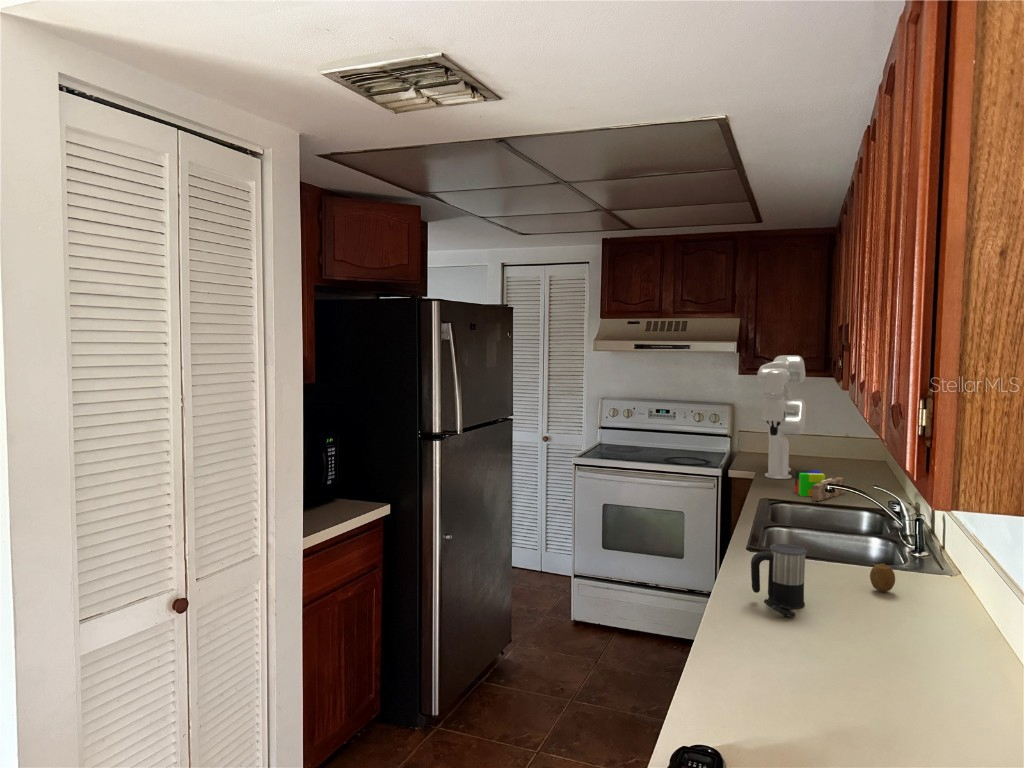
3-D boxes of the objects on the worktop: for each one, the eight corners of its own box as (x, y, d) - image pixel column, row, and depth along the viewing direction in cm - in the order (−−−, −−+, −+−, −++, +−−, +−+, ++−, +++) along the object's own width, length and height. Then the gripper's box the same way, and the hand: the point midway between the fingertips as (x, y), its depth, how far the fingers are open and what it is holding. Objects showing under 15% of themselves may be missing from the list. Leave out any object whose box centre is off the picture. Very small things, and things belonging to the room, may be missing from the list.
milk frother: (794, 596, 194) (795, 542, 193) (827, 618, 178) (828, 560, 177) (744, 598, 192) (745, 544, 191) (773, 621, 177) (774, 563, 176)
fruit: (880, 596, 193) (881, 567, 193) (864, 588, 199) (865, 560, 199) (900, 594, 195) (901, 566, 194) (883, 587, 201) (884, 559, 200)
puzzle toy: (818, 492, 324) (818, 470, 324) (824, 497, 314) (824, 474, 314) (795, 491, 326) (795, 470, 325) (800, 496, 316) (801, 474, 315)
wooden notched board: (838, 492, 324) (838, 475, 323) (843, 493, 322) (844, 476, 321) (811, 501, 306) (812, 483, 306) (817, 502, 304) (818, 484, 304)
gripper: (755, 396, 336) (755, 434, 338) (786, 398, 325) (785, 438, 327) (763, 394, 341) (762, 432, 343) (793, 396, 330) (792, 435, 332)
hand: (773, 435), depth 335 cm, fingers closed
